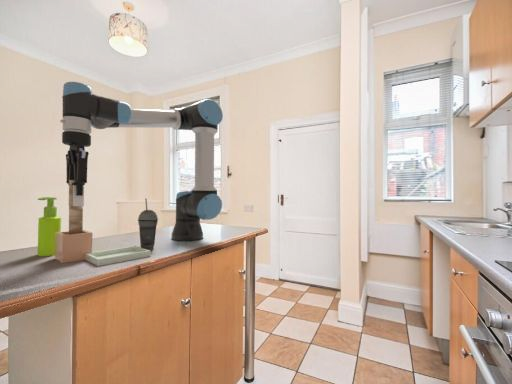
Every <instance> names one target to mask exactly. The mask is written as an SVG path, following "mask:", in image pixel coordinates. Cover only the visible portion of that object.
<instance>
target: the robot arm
mask: <svg viewBox="0 0 512 384" xmlns="http://www.w3.org/2000/svg"><path fill="white" fill-rule="evenodd" d="M62 89H63V90H62V96H61V97H62V119H60V120H59V122H60V123H62V130H63V132H62V133H61V142H62V144H63V145H65V146H69V148H68V149H69V150H67V153H66V154H65V160H66V161H65V162H66V163H65V164H66V182H65V183H66V184H68V186H69V180H74V183H72V185H73V206H83V207H84V204H85V203H84V202H85V200H84V199H85V184H87V183H88V158H89V151H86V148H87V147H90V146H91V145H92V136H91V134H92V128H93V129H97V130H105V129H107V128H113V129H114V128H172V129H173V130H177V131H178V130H180V131H181V130H184V131H192V132H193V134H194V135H195V136H194V137H195V139H194V140H195V144H194V148H195V149H194V150H195V151H194V187H193V188H191V190H183V191H179V192H177V193H176V196H175V197H176V198H175V223H174V227H173V229H172V232H171V239H172V240H174V241H182V242H183V241H197V240H198V241H199V240H201V239H203V238H204V232H203V229H202V225H201V221H200V220H202V221H203V220H204V221H205V220H206V221H208V220H210V221H211V220H214V219H216V218H217V217H218V215H220V213H221V211H222V208H223V202H222V199H221V198H220V196H219V195H218V190H217V188H216V187H215V135H216V134H217V132H218V125H219V124H221V122H222V121H223V118H224V116H223V110H222V108H221V106H220V105H219V104H218V102H217V101H215V100H213V99H211V98H210V99H209V98H206V99H202V100H199V101H198V102H195V103H193V104H190V105H188V106H185V107H181V108H172V109H170V110H165V109H164V110H163V109H162V110H161V109H143V108H131V105H130V104H129V103H127V102H124V101H121V100H119V99H118V100H117V99H113V98H110V97H109V98H108V97H104V96H101V95H97V94H93V91H92V88H91V87H90V86H89V85H87V84H84V83H82V82H78V81H68V82H65V83H64V84H63V86H62Z"/></svg>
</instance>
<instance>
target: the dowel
mask: <svg viewBox="0 0 512 384" xmlns="http://www.w3.org/2000/svg"><path fill="white" fill-rule="evenodd" d="M72 183H74V180H69V185H68V231H69V234H79V233H83V230H84V229H83V223H84V220H83V218H84V214H83V212H84V206H73V185H72Z"/></svg>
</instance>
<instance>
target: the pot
mask: <svg viewBox="0 0 512 384" xmlns="http://www.w3.org/2000/svg"><path fill="white" fill-rule="evenodd" d="M92 252H93V232H91V231H88V230H84V229H83V233H79V234H69V230H68V231H61V232H56V233H55V255H54V259H55V260H56V261H58V262H60V263H61V264H65V263H71V262H77V261H83V260H84V261H85V254H86V253H92Z"/></svg>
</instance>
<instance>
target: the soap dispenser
mask: <svg viewBox="0 0 512 384" xmlns="http://www.w3.org/2000/svg"><path fill="white" fill-rule="evenodd" d="M37 200H38V201H45V200H46V201H47V202H46V206H44V207H43V216H41V217H39V218H38V226H37V229H38V231H37V257H50V256H55V233H56V232H62V231H61V230H62V229H61V228H62V217H61V216H57V207H56V206H55V204H54V203H55V200H57V197H53V196H52V197H51V196H50V197H49V196H47V197H46V196H44V197H39V198H37Z"/></svg>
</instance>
